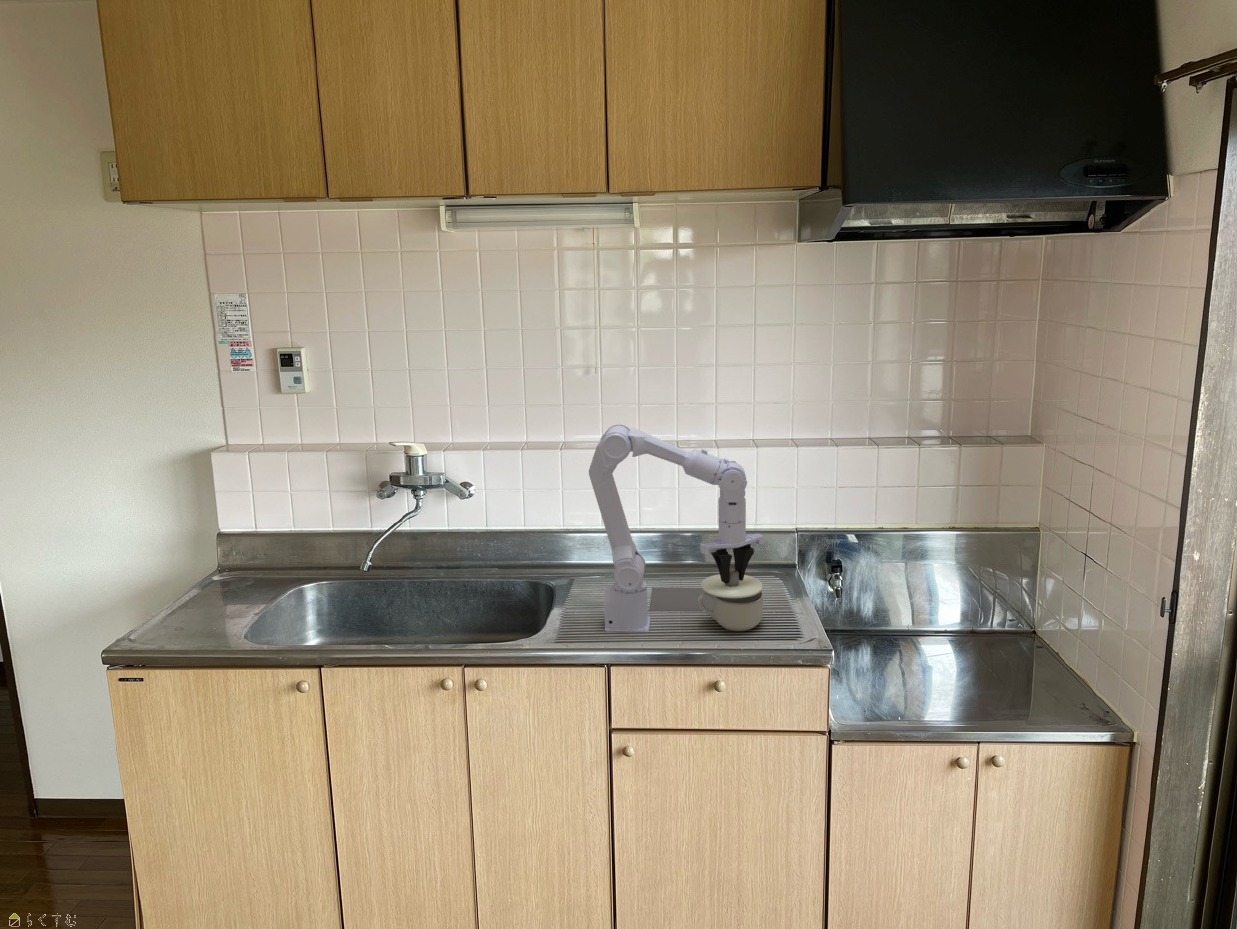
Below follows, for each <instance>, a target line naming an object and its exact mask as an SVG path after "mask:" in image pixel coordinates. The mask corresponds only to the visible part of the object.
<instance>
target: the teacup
mask: <svg viewBox="0 0 1237 929" xmlns="http://www.w3.org/2000/svg"><path fill="white" fill-rule="evenodd" d="M764 595H765V594H764V592H763V590H762V591H761V592H760V593H758V594H756V595H754V596H750V597H745V598H723V597H717V596H713V595H711V594H708V593H703V594H701V595H700V596H699V598H698V605H699V607H700V608H701V609H702V610H703V611H702V612H704V613H705V614H708V615H709V616H710V617H711V618H712V619H713V620H715V621H716V622H717V623H718V625H720V626H721V627H722V628H723V629H725V630H727V631H731V632H746V631H749V630H752V629H753V628H755V627H756V626H758V625H759V623H760V622H761V621H762V618H763V610H764V609H763V606H764ZM704 598H709V599H710V600H711V601H712V604H713V605H714V611H712V610H710V609H708V608H706V607H705V606H704V605H703V603H702V601H703V599H704Z"/></svg>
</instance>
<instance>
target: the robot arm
mask: <svg viewBox="0 0 1237 929" xmlns="http://www.w3.org/2000/svg"><path fill="white" fill-rule="evenodd" d="M594 450H595V451H594V454H593V456H592V460H591V463H590V465H589V470H588V476H589V479H590V483H591V485H592V489H593V492H594V495H595V499H596V503H597V506H598V509H599V512H600V515H601V519H602V522H603V525H604V528H605V532H606V534H607V539H608V541H609V542H608V543H609V545H610V548H611V553H612V554H611V555H612V563H613V567H614V574H613V581H614V583H613V585H611V586H605V588H604V594H603V596H604V597H603V598H604V600H603V602H604V603H603V604H604V606H603V607H604V611H603V617H604V631H605V632H649V630H650V624H651V616H649V614H648V584H647V582H646V581H645V580H644V572H645V569H646V566H647V565H646V561H645V559H644V556H642V555H641V554H640V552H639V551H638V549H637V545H636V543H635V542H634V540H633V537H632V534H631V530H630V528H629V524H628V522H627V517H626V515H625V511H624V507H623V504H622V501H621V497H620V495H619V491H618V488H617V485H616V481H615V478H614V475H613V473H614V472H615V470H616V468H617V467H618V465H619V464H621V462H623V461H624V460H626V458H628V456H629V455H630V453H632V456H631V457H632V458H635V457H639V456H643V455H650V456H652V457H656V458H658V459H661V460H664V461H668V463H669V462H670V463H673V464H674V465H678V466H681V467H682V468H683V471H684V474H685V475H687V476H690V477H693V478H695V479H698V480H699V481H700V480H701V482H704V483H707V484H710V485H712V486H718V487H719V498H718V537H717V538H714V539H712V540H709V541H707V542H702V543H700V544H699V545H700V546H699V548H700V549H699V550H700V553H701V554H702V555H705V556H707V555H709V554H711V556H712V558H713V559H714V560H713V561H714V562H715V564H716V567H717V568H718V573H719V574H720V577H721V581H722V582H724V583H726V584H727V583H729V578H730V569H731V562H732V558H733V559H734V569H737V570H739V580H740V581H742V580H743V578H744V575H746V574H745V573H746V570H747V566H748V564H749V562H750V561H751V558H752V556H753V555H754V553H755V549H754V547H752V546H753V545H759V546H760V545H764V535H763V534H761V533H752V534H747V532H746V531H747V530H746V528H747V525H746V522H747V511H746V510H747V508H746V507H747V506H746V504H747V502H746V501H747V499H746V498H745V496H746V488H747V486H748V481H747V476H746V475H747V474H746V472H745V469H744V467H743V466H742V465H741V464H739V463H738V462H736V461H735V460H729V458H726V457H724V458H723V459H722V458H719V457H717V456H715V455H713V454H710V453H709V452H708V451H709V450H707V449H705V448H703V447H702V448H701V450H700V449H698V448H695V449H692V450H688V451H686V450H684V449H682V448H680V447H677V446H675V445H673V444H671V443H669V442H666V440H665V441H664V440H662V439H660V438H658V437H656V436H653V435H651V434H650V433H647V432H645V431H642V430H639V429H637V428H635V427H634V428H633V427H630V428H629V427H628V426H626V425H624V424H621V423H619V424H618V423H616V424H614V425H611V426H609V427H608V428H607V430H606V431H605V432H604V433H603V435H602V436H601V438H600V439H599V442H598V443H597V445H596V447H595V449H594ZM727 550H732V552H733V555H732V554H730V553H729V551H727Z"/></svg>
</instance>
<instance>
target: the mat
mask: <svg viewBox="0 0 1237 929" xmlns="http://www.w3.org/2000/svg"><path fill="white" fill-rule="evenodd" d="M703 593H706V592H705V591H704V590H703V589H702V587H652V588H651V595H650V601H649V607H648V608H649V610H648V611H649V612H704V611H703V610H702V609H701V608H700V607H699V605H698V598H699V596H700V595H701V594H703ZM702 603H703V605H704V606H705V607H706V608H708V609H710V610H712V611H714V605H713V604H712V601H711V600H710V599H709V598H704V599H703V601H702Z"/></svg>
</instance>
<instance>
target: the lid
mask: <svg viewBox="0 0 1237 929" xmlns="http://www.w3.org/2000/svg"><path fill="white" fill-rule="evenodd" d="M701 588H702V589H703V590H704V591H705V592H706V593H708V594H711V595H713V596H717V597H723V598H745V597H750V596H754V595H756V594H758V593H760V592H761V591H762V592H763V582H762V581H761V580H759V579H758V578H756V577H754V576H751V575H746V574H744V578H743V580H742V581H740V580H739V570H737V569H735V568H730V578H729V583H727V584H726V583H724V582H722V581H721V577H720V573H719V574H715V575H713V574H712V575H711V576H710V575H709V576H707V577H706V578H705V579H703V580H702V581H701Z"/></svg>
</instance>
